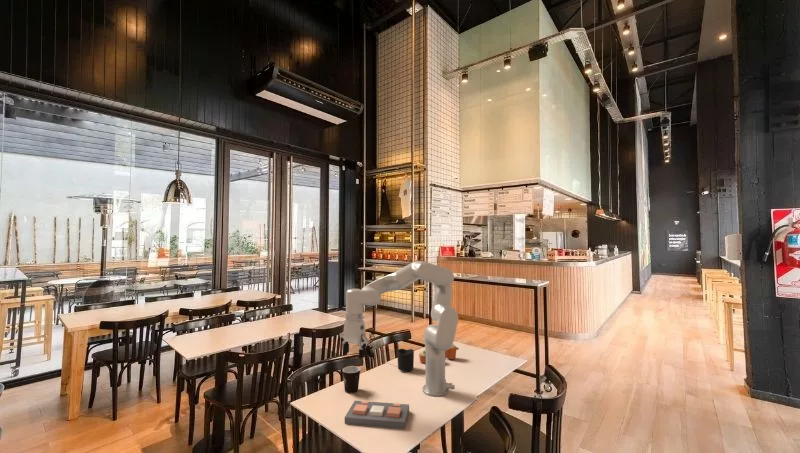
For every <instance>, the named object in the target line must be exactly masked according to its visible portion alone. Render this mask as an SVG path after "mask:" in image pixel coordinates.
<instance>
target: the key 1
mask: <svg viewBox="0 0 800 453" xmlns="http://www.w3.org/2000/svg"><path fill="white" fill-rule="evenodd" d="M367 411H368V405H361V404H356V406H355V407H354V409H353V414H355V415H366V413H367Z"/></svg>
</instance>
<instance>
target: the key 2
mask: <svg viewBox="0 0 800 453" xmlns="http://www.w3.org/2000/svg"><path fill="white" fill-rule="evenodd" d="M400 415H401V407H389V408H388V411H387V417H393V418H400Z"/></svg>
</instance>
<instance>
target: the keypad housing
mask: <svg viewBox="0 0 800 453" xmlns="http://www.w3.org/2000/svg"><path fill="white" fill-rule="evenodd" d="M356 404H361V405H368V411H367V413H366V415H355V414H353V409H354V407H355V406H356ZM373 405H375V406H384V414H383V416H382V417H381V416H370V410H371V408H372V406H373ZM389 407H401V415H400V418H393V417H387V411H388V408H389ZM409 414H410V404H408V403H407V404H406V403H396V402H380V401H378V402H377V401H367V400H354V401H353V403H352V404H351V406H350V407H349V409H348V411H347V412H346V414H345V416H344V424H345V425H356V426H364V427H365V426H367V427H378V428H387V429H397V430H405V428H406V425H407V421H408V417H409Z"/></svg>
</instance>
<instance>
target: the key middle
mask: <svg viewBox="0 0 800 453" xmlns="http://www.w3.org/2000/svg"><path fill="white" fill-rule="evenodd" d="M383 414H384V406H375V405H373V406H372V408H371V410H370V416H381V417H382V416H383Z"/></svg>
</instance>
